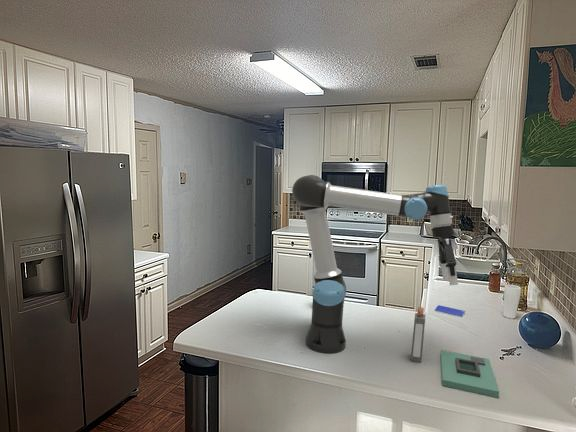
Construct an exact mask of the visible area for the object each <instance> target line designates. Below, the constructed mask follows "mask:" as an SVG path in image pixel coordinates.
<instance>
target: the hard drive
mask: <svg viewBox="0 0 576 432" xmlns="http://www.w3.org/2000/svg"><path fill="white" fill-rule="evenodd" d="M434 312H436V313H441V314H445V315H449V316H451V317H457V318H461V319H462V318H463V316H464V315H465V314H466V310H461V309H456V308H452V307H448V306H444V305H439V304H438V305H437V306H436V307H435V308H434Z"/></svg>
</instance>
